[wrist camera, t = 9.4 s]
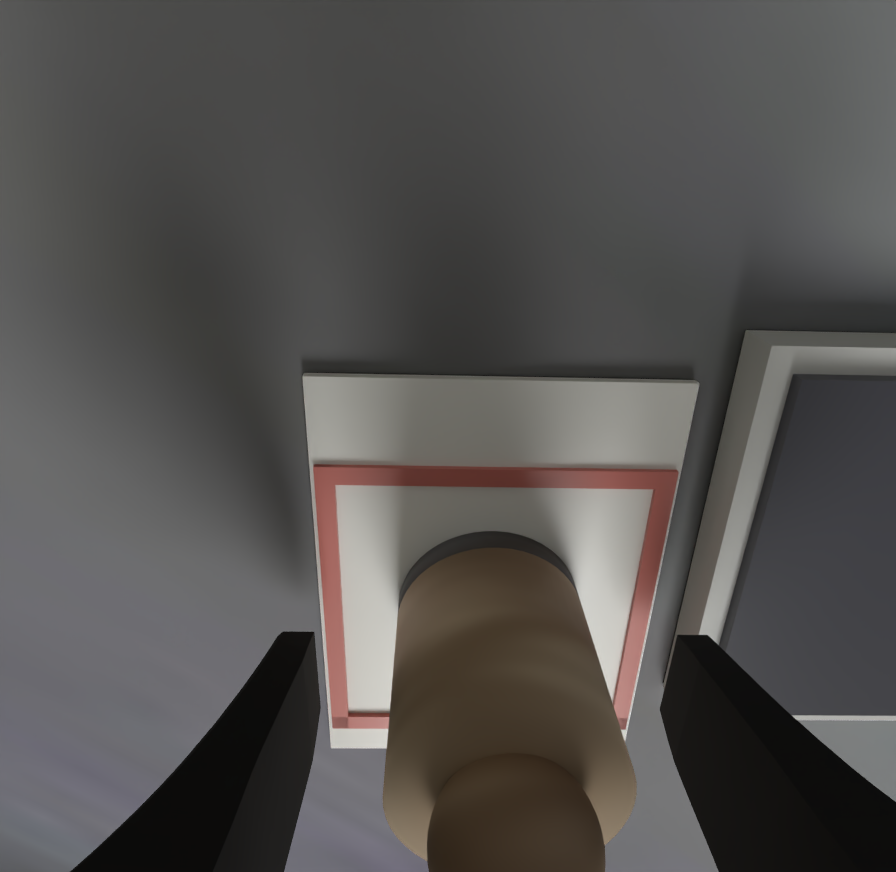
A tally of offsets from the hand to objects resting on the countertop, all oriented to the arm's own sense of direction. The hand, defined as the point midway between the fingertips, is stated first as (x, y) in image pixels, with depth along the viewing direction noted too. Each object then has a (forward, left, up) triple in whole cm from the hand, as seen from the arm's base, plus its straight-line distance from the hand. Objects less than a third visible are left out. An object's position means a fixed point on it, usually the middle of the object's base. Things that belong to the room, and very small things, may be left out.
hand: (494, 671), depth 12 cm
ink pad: (-8, -2, -2) cm, 8 cm away
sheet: (0, 0, -2) cm, 2 cm away
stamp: (0, 0, -2) cm, 2 cm away
